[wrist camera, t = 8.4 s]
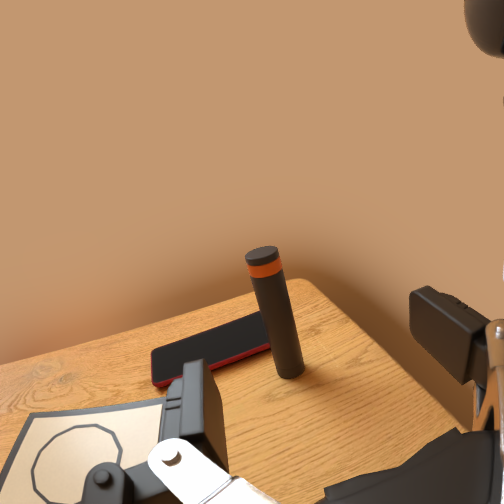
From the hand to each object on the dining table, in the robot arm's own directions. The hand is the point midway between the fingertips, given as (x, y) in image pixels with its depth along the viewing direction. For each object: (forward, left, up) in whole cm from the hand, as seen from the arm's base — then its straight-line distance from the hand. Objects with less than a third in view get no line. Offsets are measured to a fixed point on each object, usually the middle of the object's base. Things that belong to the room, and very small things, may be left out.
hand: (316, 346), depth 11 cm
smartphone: (+7, -21, -13) cm, 25 cm away
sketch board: (+21, -6, -13) cm, 25 cm away
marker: (0, -14, -13) cm, 19 cm away
